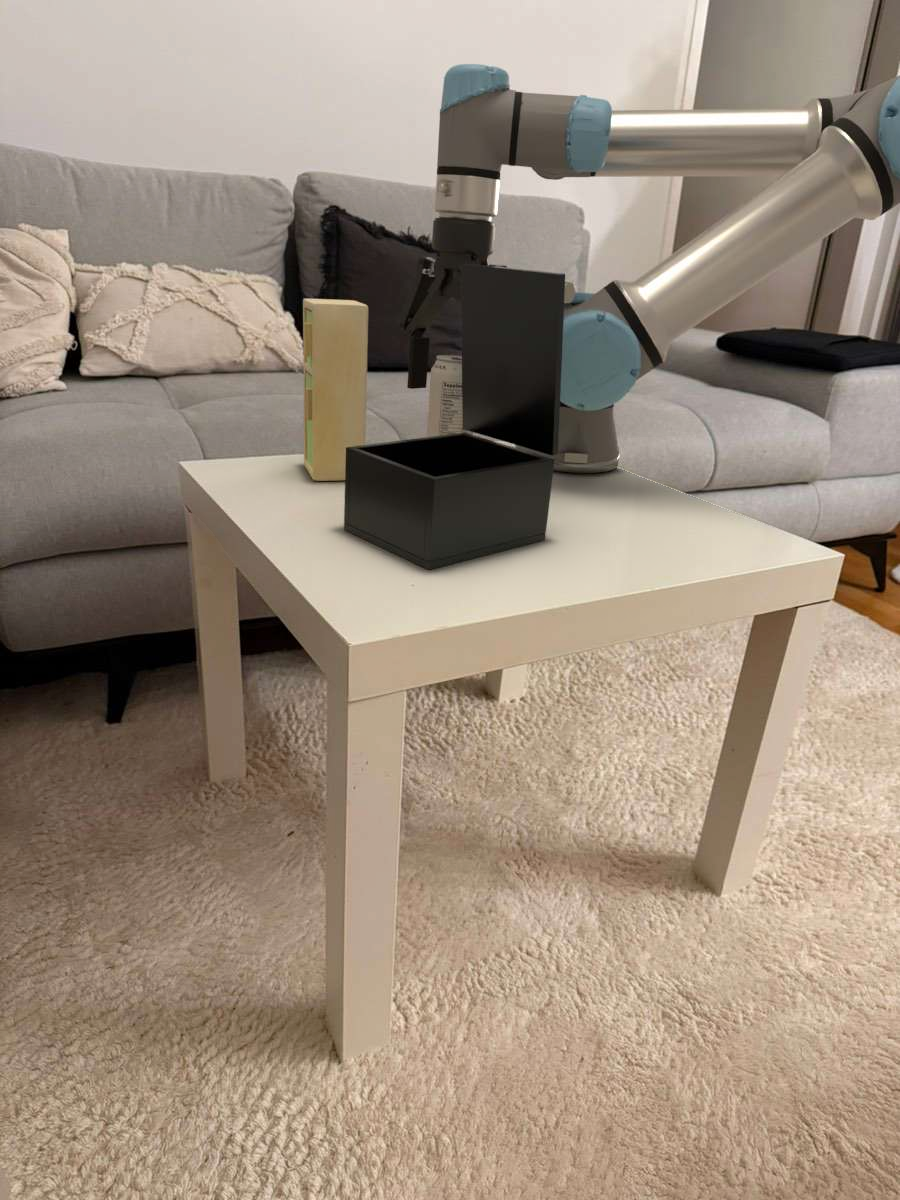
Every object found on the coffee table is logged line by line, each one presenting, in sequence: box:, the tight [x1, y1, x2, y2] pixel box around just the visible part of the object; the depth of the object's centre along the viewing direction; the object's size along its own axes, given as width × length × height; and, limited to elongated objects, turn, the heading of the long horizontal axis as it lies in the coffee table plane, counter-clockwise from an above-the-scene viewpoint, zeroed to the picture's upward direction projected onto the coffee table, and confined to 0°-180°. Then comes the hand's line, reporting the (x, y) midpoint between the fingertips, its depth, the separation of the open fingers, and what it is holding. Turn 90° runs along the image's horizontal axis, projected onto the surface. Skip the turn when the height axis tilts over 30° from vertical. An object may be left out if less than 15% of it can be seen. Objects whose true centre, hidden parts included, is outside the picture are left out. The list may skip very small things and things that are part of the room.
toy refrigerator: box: [302, 298, 369, 482], centre depth 105 cm, size 8×7×21 cm
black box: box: [343, 433, 555, 571], centre depth 88 cm, size 17×14×9 cm
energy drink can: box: [426, 354, 474, 437], centre depth 111 cm, size 6×6×15 cm
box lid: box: [460, 263, 576, 456], centre depth 89 cm, size 18×14×6 cm
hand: (450, 397), depth 110 cm, fingers open, 13 cm apart
